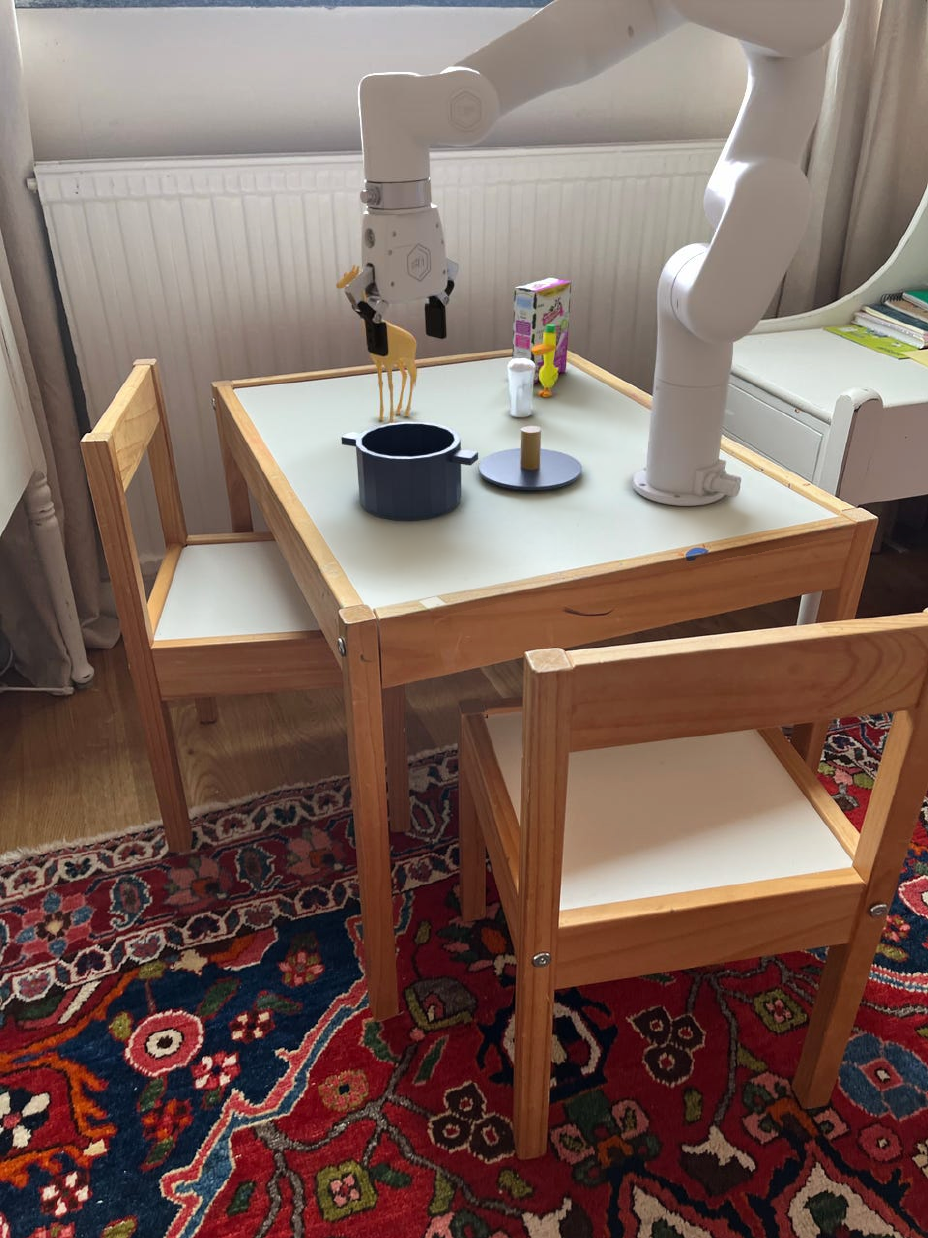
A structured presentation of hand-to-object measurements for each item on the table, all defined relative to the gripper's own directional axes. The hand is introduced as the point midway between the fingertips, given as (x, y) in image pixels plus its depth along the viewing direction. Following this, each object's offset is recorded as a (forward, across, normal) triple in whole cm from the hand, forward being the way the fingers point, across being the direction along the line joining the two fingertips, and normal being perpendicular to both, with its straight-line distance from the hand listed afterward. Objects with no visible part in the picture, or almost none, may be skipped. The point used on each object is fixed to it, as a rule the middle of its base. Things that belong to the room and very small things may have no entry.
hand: (407, 345), depth 120 cm
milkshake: (+21, +35, +13) cm, 43 cm away
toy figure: (+21, +45, +17) cm, 53 cm away
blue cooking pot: (+21, -1, +1) cm, 21 cm away
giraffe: (+21, +17, +27) cm, 38 cm away
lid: (+20, +17, -5) cm, 27 cm away
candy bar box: (+22, +53, +25) cm, 63 cm away
